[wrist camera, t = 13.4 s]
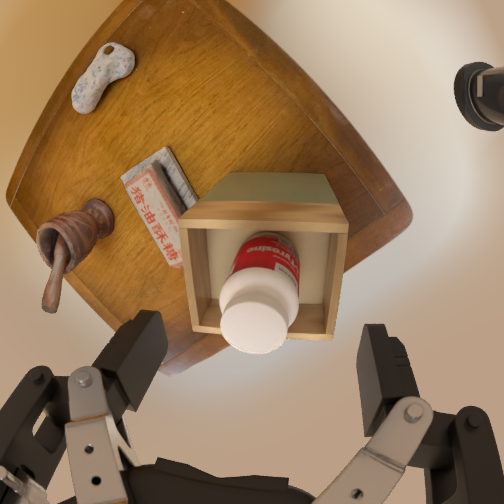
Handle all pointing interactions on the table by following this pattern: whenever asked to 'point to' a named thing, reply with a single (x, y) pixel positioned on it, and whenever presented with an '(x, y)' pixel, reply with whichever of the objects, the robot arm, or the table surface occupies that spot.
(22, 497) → the robot arm
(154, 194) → the packaged product
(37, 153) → the table surface
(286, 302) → the pill bottle
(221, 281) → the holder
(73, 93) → the decorative stone
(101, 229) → the mortar and pestle
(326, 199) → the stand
